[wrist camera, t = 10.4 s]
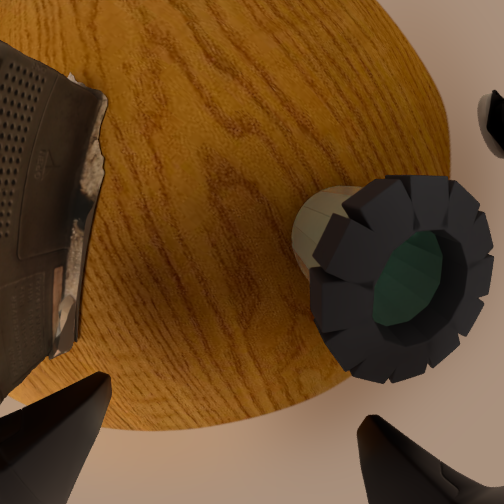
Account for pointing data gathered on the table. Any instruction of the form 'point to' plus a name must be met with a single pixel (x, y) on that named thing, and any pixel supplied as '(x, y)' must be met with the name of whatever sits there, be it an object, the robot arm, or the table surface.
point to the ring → (374, 261)
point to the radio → (43, 208)
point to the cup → (396, 270)
